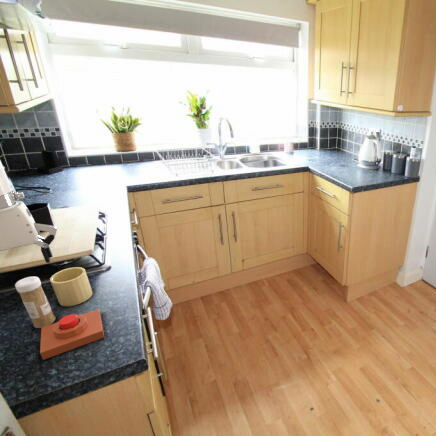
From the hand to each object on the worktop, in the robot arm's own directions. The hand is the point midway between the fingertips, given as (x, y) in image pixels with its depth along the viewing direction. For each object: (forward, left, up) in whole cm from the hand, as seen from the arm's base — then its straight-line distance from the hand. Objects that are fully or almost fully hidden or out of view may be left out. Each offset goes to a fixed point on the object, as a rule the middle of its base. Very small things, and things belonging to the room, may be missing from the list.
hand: (23, 266), depth 78 cm
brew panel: (+6, -10, -17) cm, 21 cm away
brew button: (+6, -10, -14) cm, 18 cm away
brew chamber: (+7, +8, -17) cm, 20 cm away
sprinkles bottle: (0, 0, -18) cm, 18 cm away
